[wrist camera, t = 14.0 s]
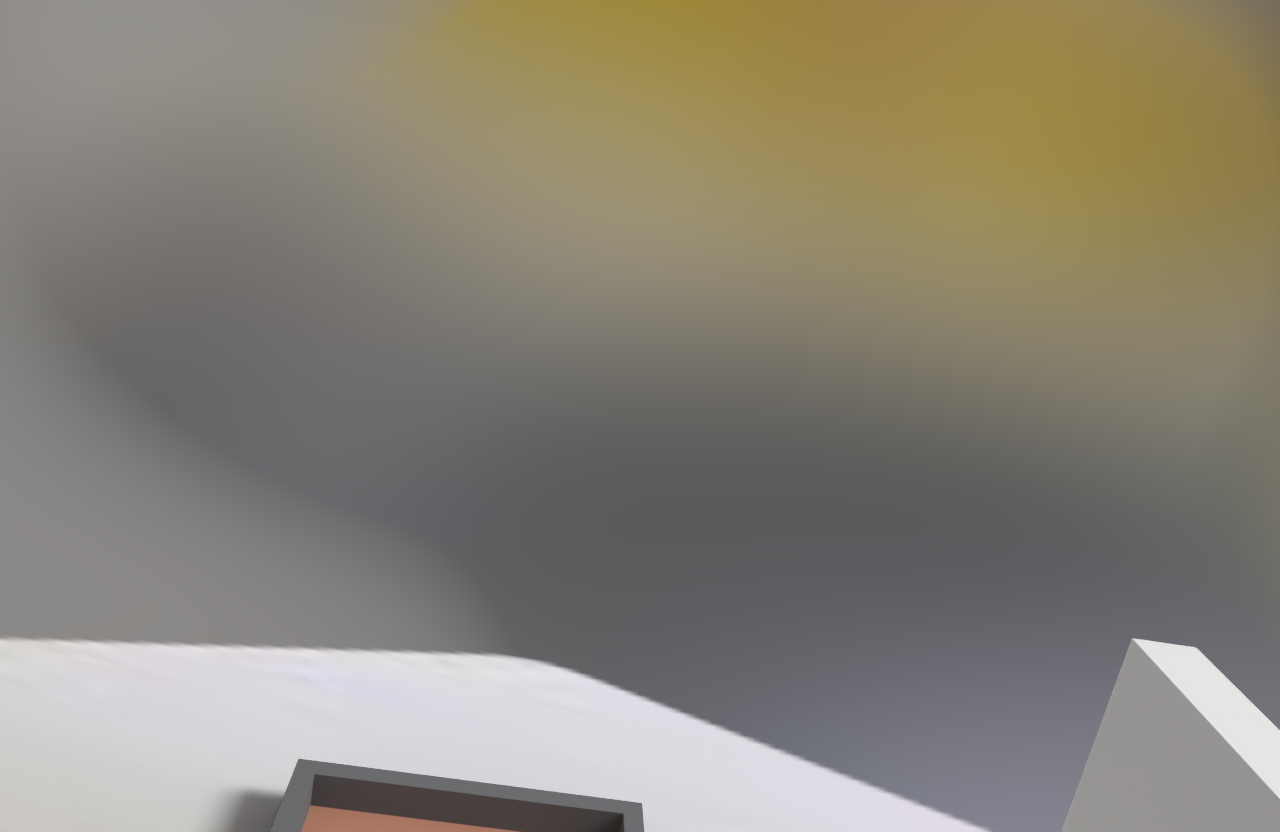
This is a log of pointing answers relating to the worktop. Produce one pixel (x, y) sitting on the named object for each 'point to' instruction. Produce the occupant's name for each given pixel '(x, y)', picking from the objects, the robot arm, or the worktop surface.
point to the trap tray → (436, 805)
